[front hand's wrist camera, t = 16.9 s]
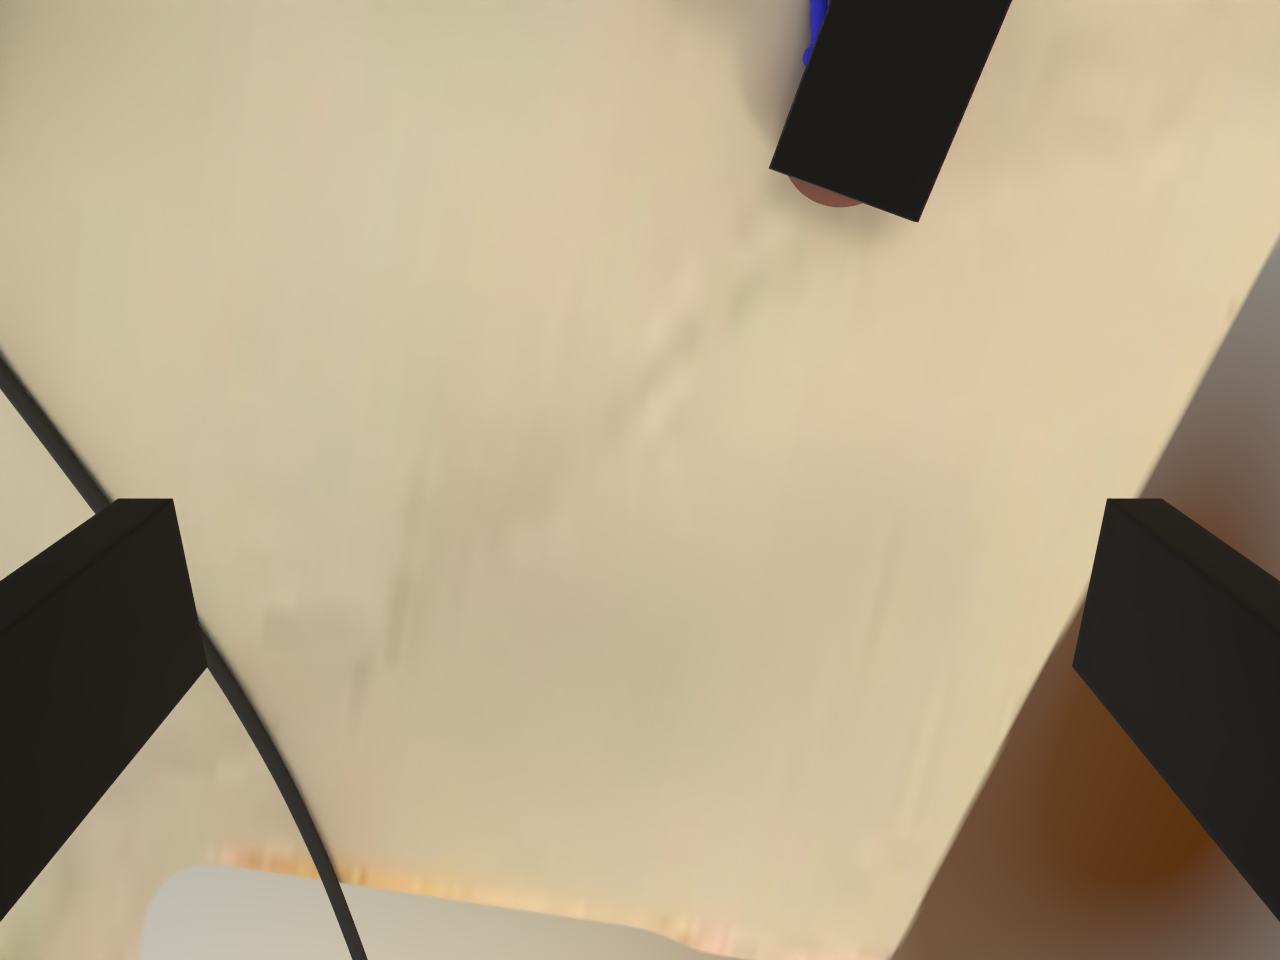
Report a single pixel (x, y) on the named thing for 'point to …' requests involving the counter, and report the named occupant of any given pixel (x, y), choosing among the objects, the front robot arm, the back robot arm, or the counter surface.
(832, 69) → the figurine character
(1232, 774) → the front robot arm
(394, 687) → the counter surface
